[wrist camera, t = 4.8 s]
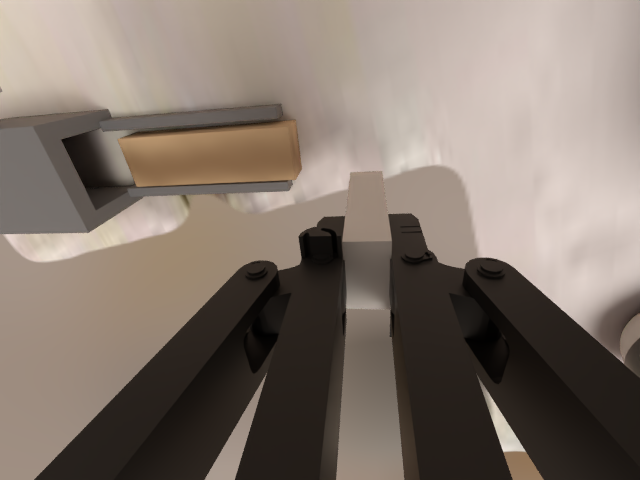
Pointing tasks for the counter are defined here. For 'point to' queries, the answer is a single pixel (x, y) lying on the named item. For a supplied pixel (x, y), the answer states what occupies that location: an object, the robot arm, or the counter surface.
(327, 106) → the counter surface
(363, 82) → the counter surface
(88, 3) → the counter surface
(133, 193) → the grey u-channel bracket
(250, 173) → the oak board
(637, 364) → the pump dispenser
